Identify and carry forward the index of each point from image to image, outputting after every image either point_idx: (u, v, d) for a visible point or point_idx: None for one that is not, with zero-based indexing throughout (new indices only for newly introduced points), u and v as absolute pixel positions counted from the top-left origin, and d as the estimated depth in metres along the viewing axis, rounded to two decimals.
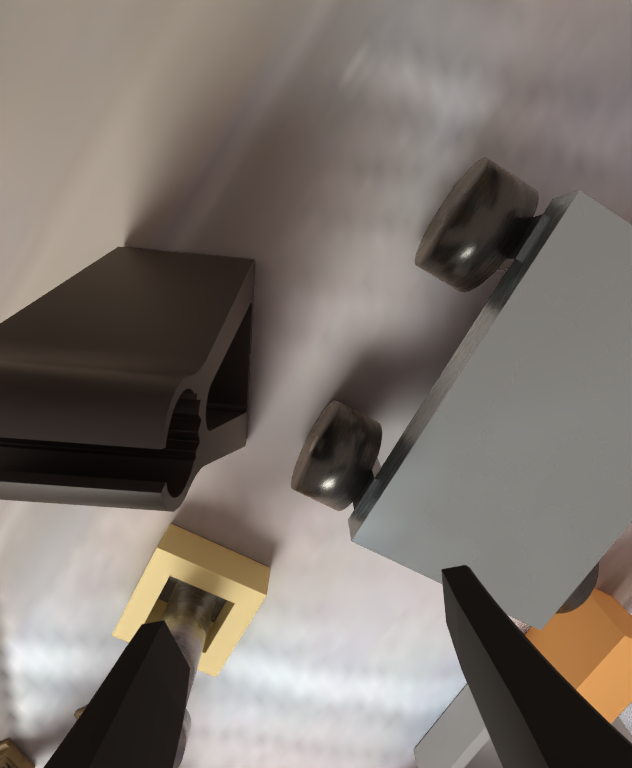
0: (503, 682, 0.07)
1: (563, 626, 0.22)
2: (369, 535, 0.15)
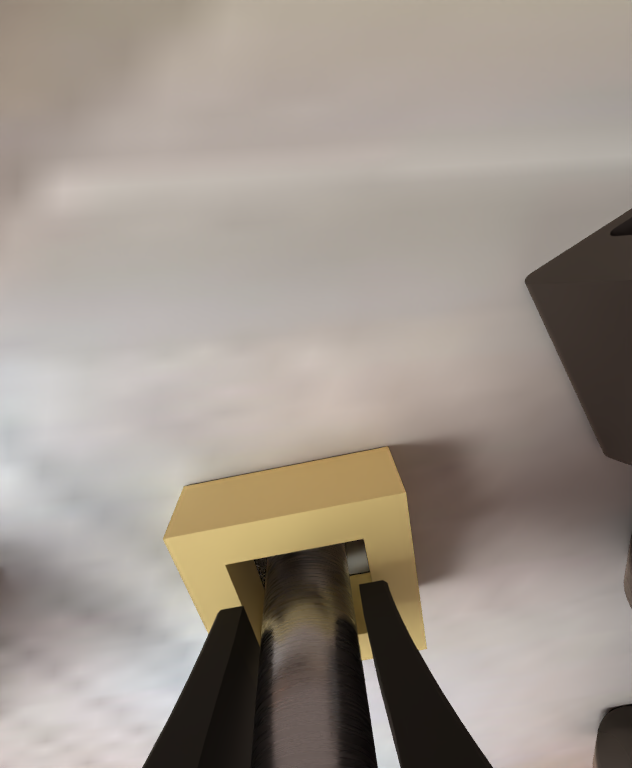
0: (387, 702, 0.07)
1: None
2: None
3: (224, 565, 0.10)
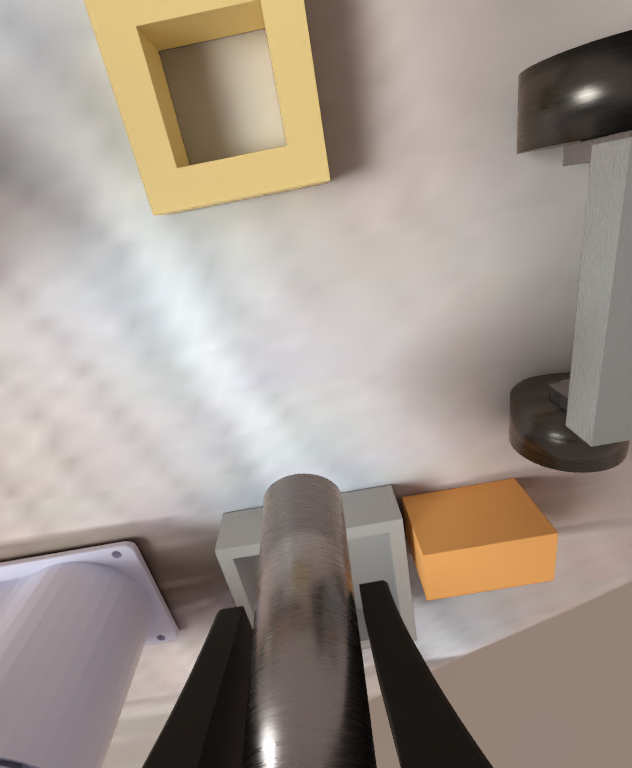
0: (387, 702, 0.07)
1: (482, 503, 0.20)
2: None
3: (135, 26, 0.11)
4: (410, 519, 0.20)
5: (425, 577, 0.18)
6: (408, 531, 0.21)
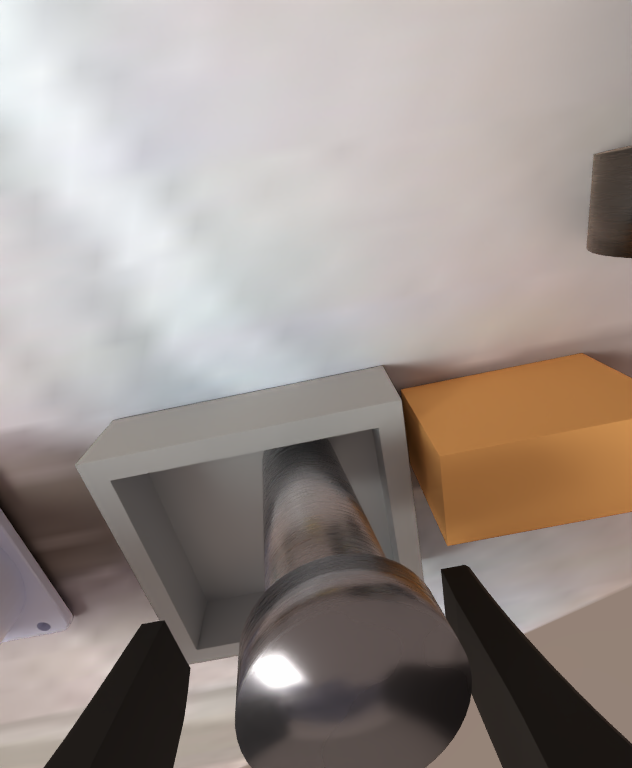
0: (503, 682, 0.07)
1: (536, 384, 0.12)
2: None
3: None
4: (415, 413, 0.12)
5: (444, 501, 0.10)
6: (412, 443, 0.13)
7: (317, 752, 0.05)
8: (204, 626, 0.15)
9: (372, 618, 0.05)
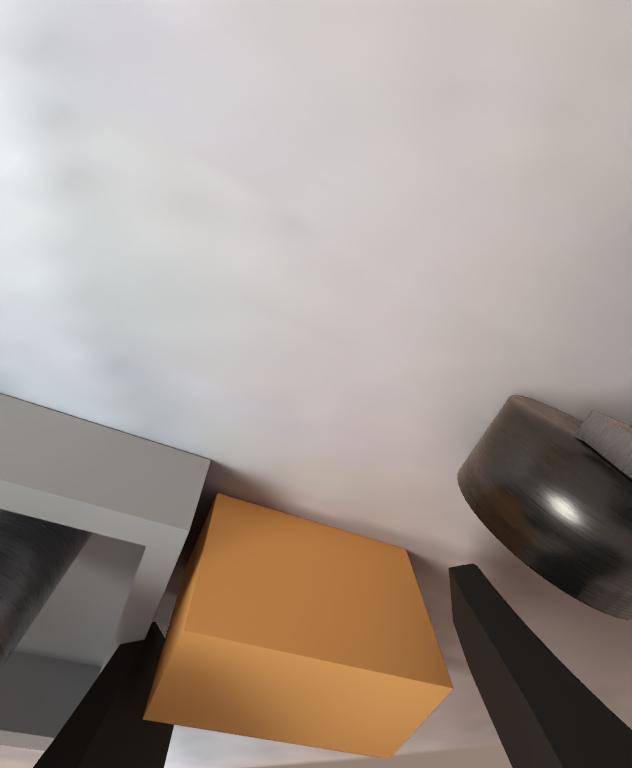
0: (514, 680, 0.07)
1: (345, 569, 0.10)
2: None
3: None
4: (207, 539, 0.10)
5: (164, 674, 0.08)
6: (193, 558, 0.11)
7: None
8: None
9: None
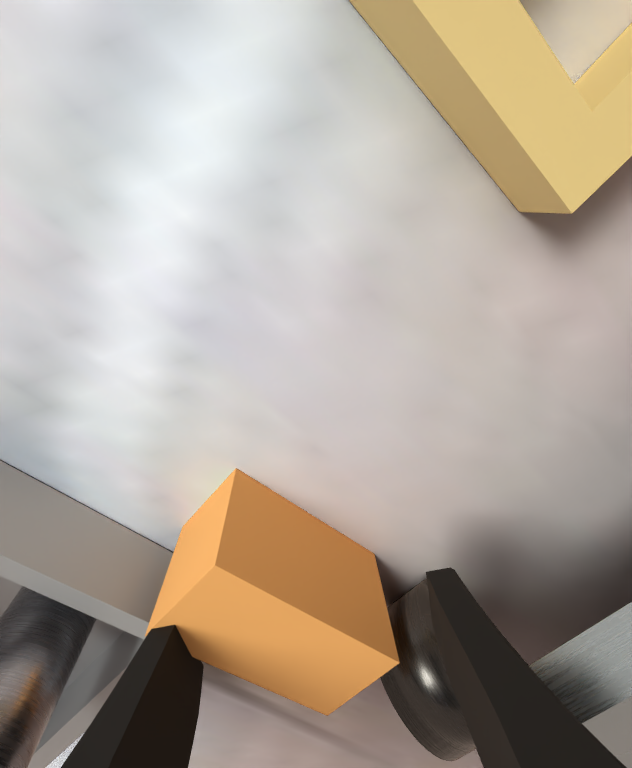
0: (482, 686, 0.07)
1: (329, 552, 0.12)
2: None
3: None
4: (229, 499, 0.11)
5: (180, 600, 0.09)
6: (202, 514, 0.12)
7: None
8: None
9: None
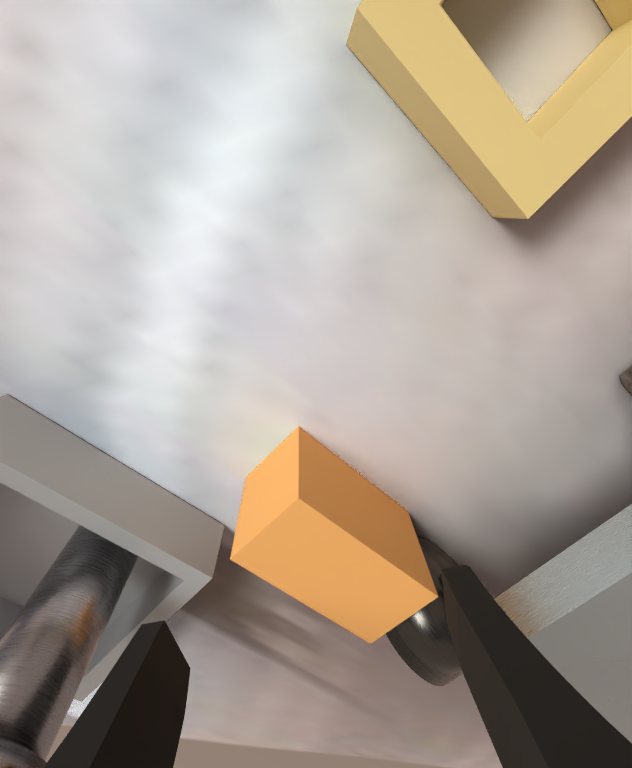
0: (503, 682, 0.07)
1: (375, 506, 0.14)
2: None
3: None
4: (298, 452, 0.13)
5: (264, 528, 0.11)
6: (267, 468, 0.14)
7: None
8: None
9: None
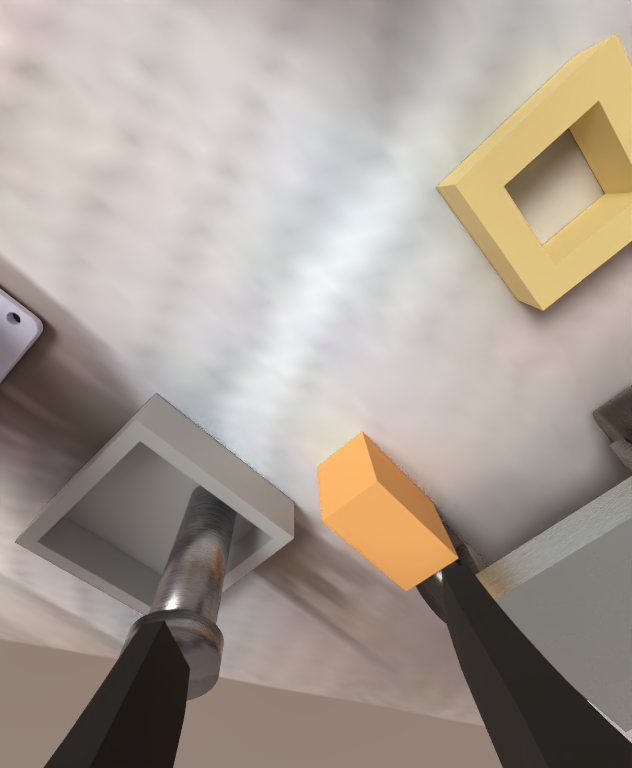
0: (503, 682, 0.07)
1: (414, 493, 0.20)
2: None
3: (598, 99, 0.13)
4: (367, 450, 0.18)
5: (350, 500, 0.16)
6: (338, 460, 0.19)
7: None
8: (49, 529, 0.19)
9: (204, 658, 0.13)
